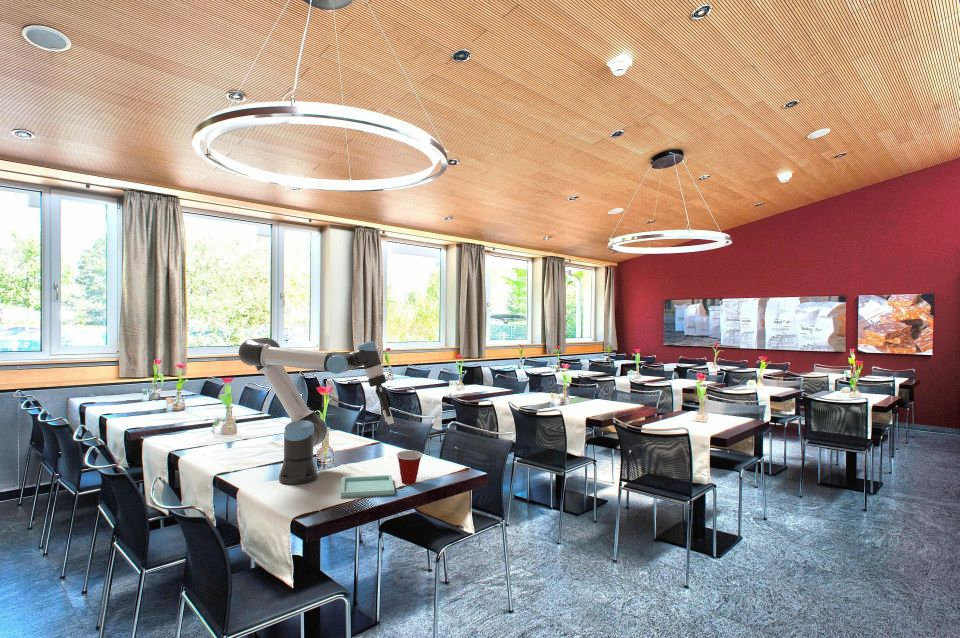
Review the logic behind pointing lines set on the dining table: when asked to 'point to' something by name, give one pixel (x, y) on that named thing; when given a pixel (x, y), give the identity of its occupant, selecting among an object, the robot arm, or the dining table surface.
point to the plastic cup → (409, 465)
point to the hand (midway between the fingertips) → (389, 422)
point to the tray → (367, 486)
